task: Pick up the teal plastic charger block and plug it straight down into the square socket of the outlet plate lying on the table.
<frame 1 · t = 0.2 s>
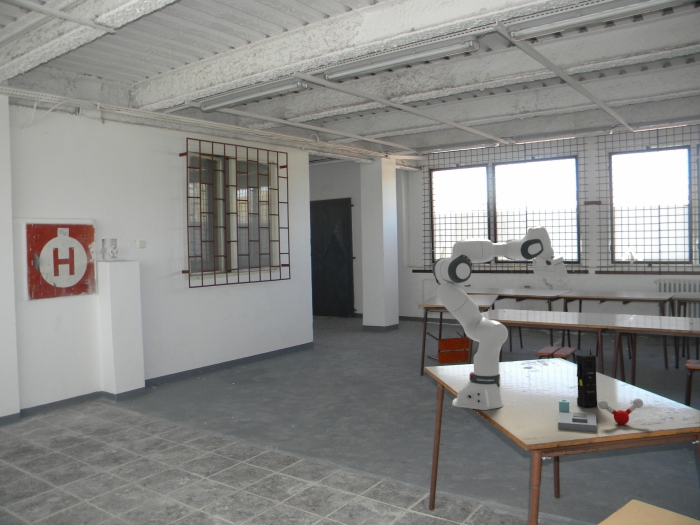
hand: (554, 286, 276), 52 cm above the table, tool tilted 20°, fingers open, 8 cm apart
molecular model: (621, 424, 233), on the table
outlet plate: (577, 424, 235), on the table
portable radio: (586, 406, 260), on the table
charger block: (564, 414, 248), on the table
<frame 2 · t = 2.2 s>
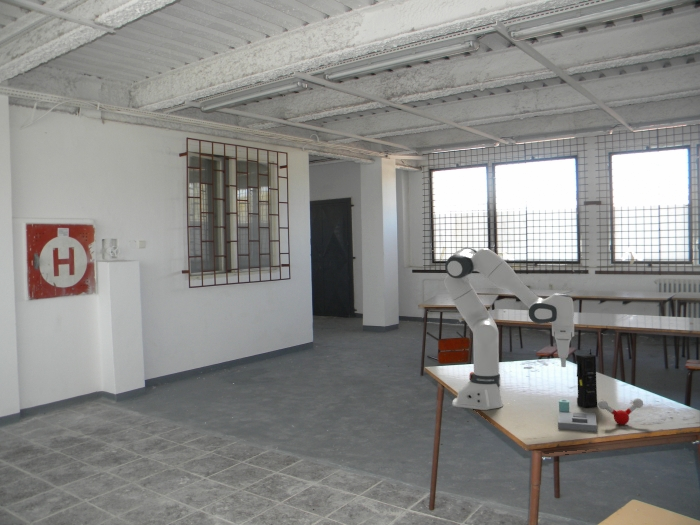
hand: (563, 364, 247), 21 cm above the table, tool pointing down, fingers open, 8 cm apart
nothing on the table moved.
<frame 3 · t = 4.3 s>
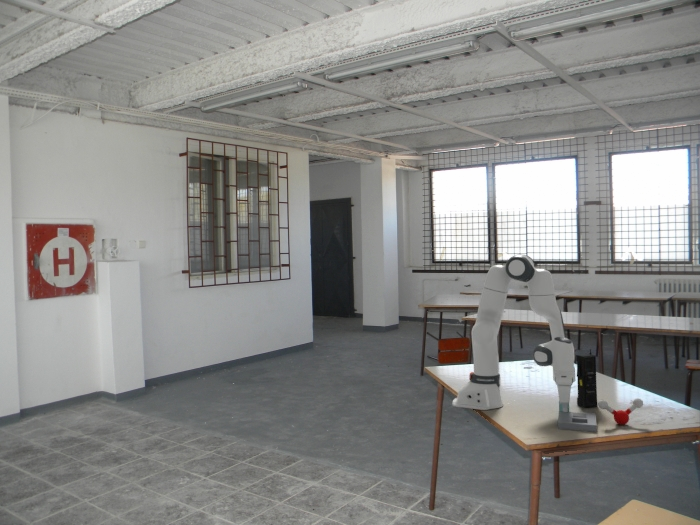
hand: (565, 409, 247), 2 cm above the table, tool pointing down, fingers open, 7 cm apart
nothing on the table moved.
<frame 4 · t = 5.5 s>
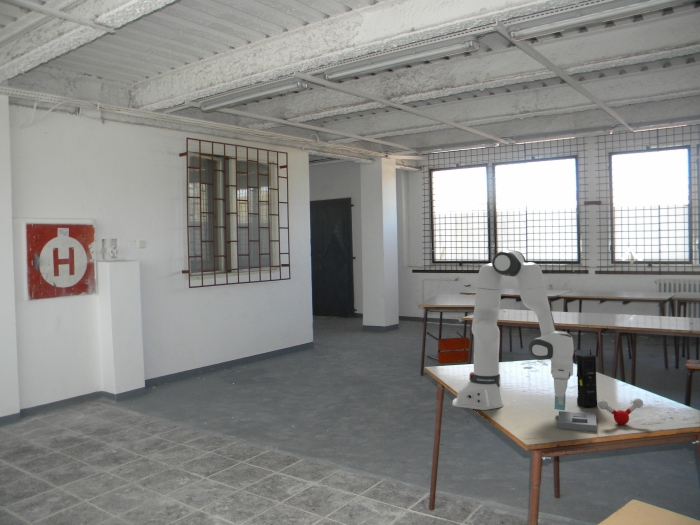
hand: (561, 402, 247), 5 cm above the table, tool pointing down, fingers closed on charger block, 4 cm apart
charger block: (559, 408, 247), point 3 cm above the table, touching gripper
everything else where it was.
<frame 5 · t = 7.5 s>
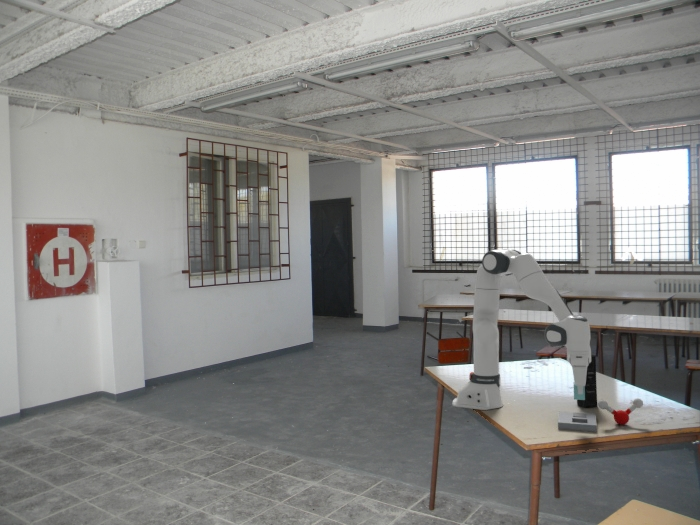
hand: (580, 392, 231), 14 cm above the table, tool pointing down, fingers closed on charger block, 4 cm apart
charger block: (579, 398, 231), point 11 cm above the table, touching gripper
everything else where it was.
when the fingers open (4 cm above the table, at t = 9.5 s): charger block drops 1 cm, resting in outlet plate.
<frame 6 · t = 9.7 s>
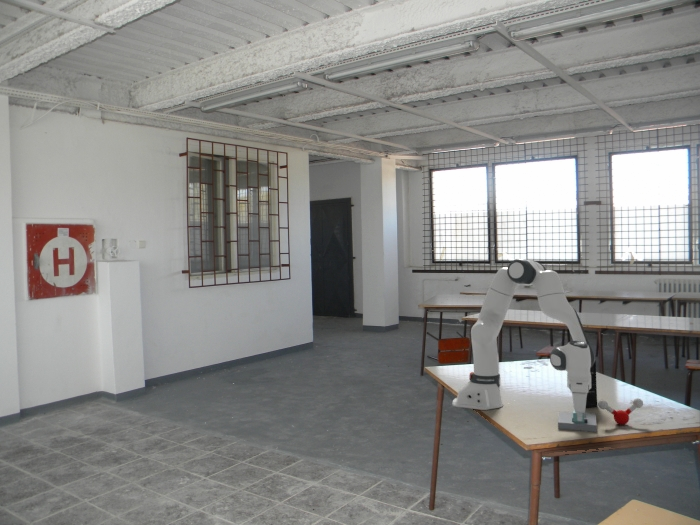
hand: (579, 417, 231), 4 cm above the table, tool pointing down, fingers open, 6 cm apart
charger block: (578, 427, 231), resting in outlet plate
everything else where it was.
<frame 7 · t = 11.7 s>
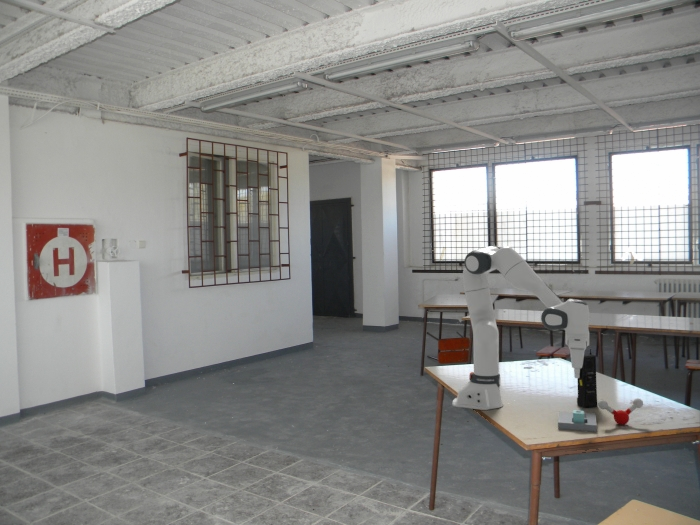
hand: (577, 375, 233), 20 cm above the table, tool pointing down, fingers open, 8 cm apart
nothing on the table moved.
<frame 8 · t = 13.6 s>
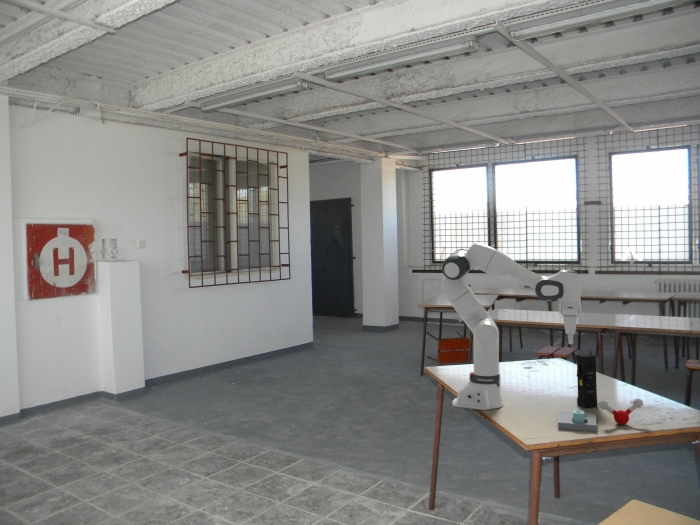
hand: (570, 342, 245), 31 cm above the table, tool pointing down, fingers open, 8 cm apart
nothing on the table moved.
at the end: charger block 0.4 cm from the target spot on the outlet plate, point 0.0 cm above the outlet plate's base; charger block tilted 0°; the gripper is holding nothing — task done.
